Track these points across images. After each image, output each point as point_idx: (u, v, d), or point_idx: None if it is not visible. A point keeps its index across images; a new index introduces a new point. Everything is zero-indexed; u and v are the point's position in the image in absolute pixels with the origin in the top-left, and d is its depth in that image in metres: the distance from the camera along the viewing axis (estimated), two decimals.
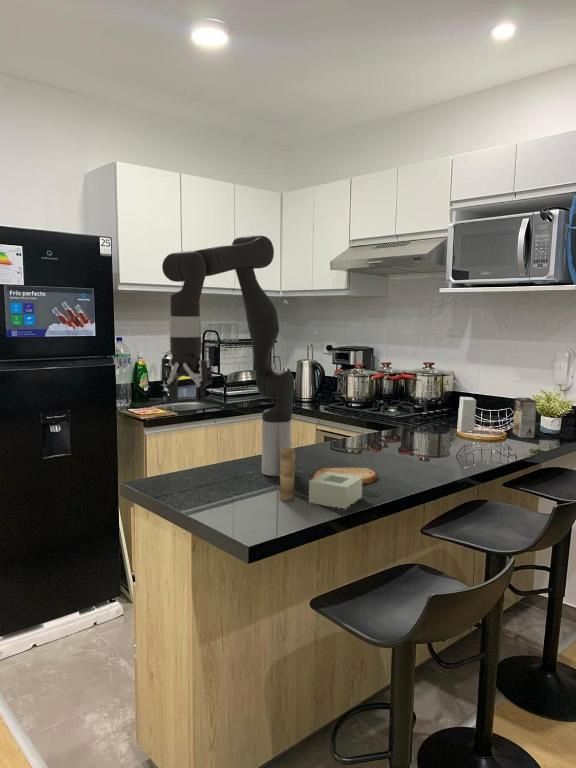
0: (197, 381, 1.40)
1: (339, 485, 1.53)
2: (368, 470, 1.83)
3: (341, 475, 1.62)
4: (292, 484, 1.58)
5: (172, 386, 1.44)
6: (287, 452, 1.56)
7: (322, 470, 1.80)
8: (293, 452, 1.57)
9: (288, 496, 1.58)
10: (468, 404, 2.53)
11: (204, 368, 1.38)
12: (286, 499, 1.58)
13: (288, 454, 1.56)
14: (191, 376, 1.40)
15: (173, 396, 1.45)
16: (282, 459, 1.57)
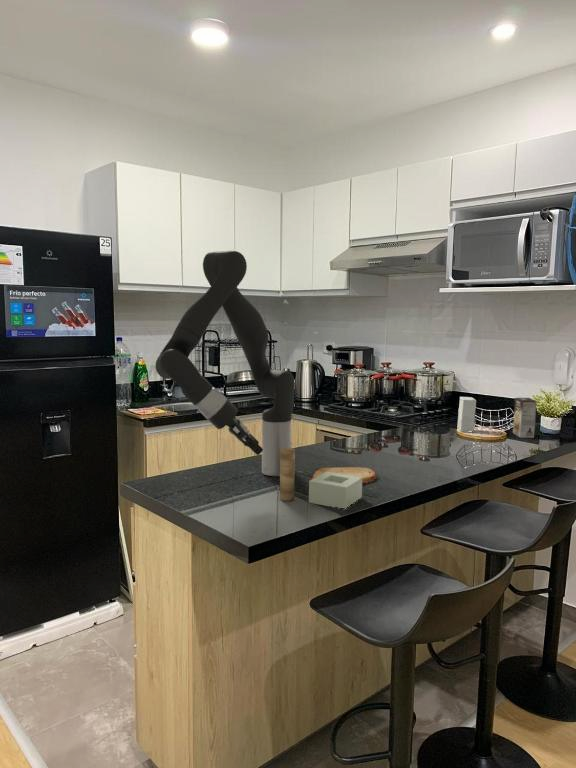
0: None
1: (339, 485, 1.53)
2: (368, 470, 1.84)
3: (341, 475, 1.62)
4: (292, 484, 1.58)
5: (246, 439, 1.60)
6: (287, 452, 1.56)
7: (322, 470, 1.80)
8: (293, 452, 1.57)
9: (288, 496, 1.58)
10: (468, 404, 2.53)
11: (235, 435, 1.48)
12: (286, 499, 1.58)
13: (288, 454, 1.56)
14: (238, 439, 1.52)
15: None
16: (282, 459, 1.57)
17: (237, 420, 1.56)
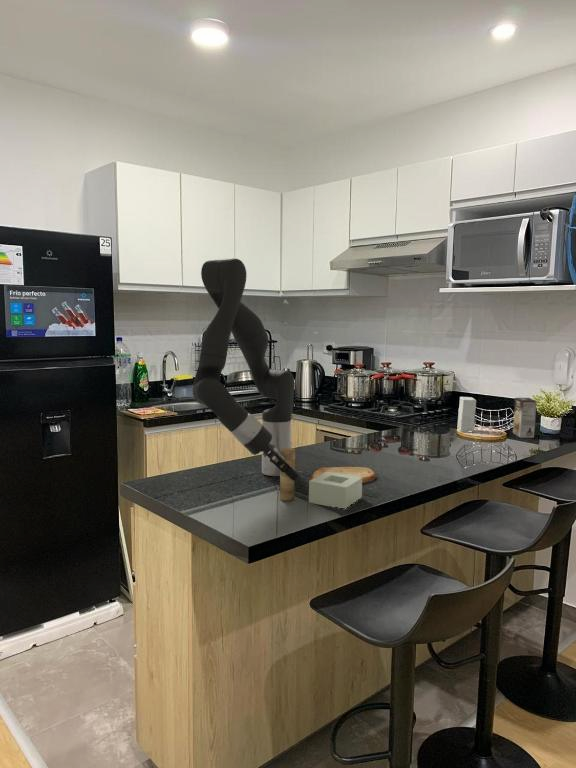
0: None
1: (339, 485, 1.53)
2: (367, 469, 1.84)
3: (341, 475, 1.62)
4: (292, 484, 1.58)
5: None
6: (287, 452, 1.56)
7: (321, 469, 1.81)
8: (293, 452, 1.57)
9: (288, 496, 1.58)
10: (468, 404, 2.53)
11: (274, 464, 1.52)
12: (286, 499, 1.58)
13: (288, 454, 1.56)
14: (274, 465, 1.56)
15: None
16: None
17: (271, 445, 1.58)
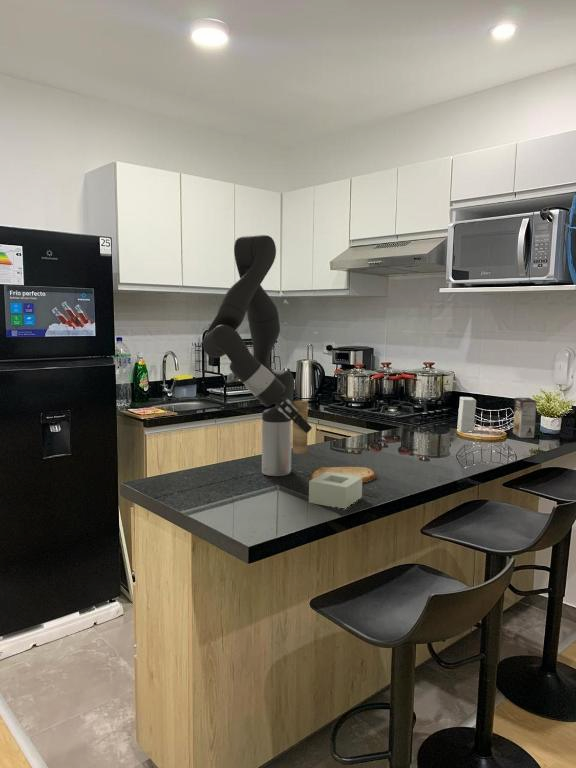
0: None
1: (339, 485, 1.53)
2: (367, 469, 1.84)
3: (341, 475, 1.62)
4: (305, 437, 1.56)
5: None
6: (300, 404, 1.54)
7: (321, 469, 1.81)
8: (306, 404, 1.55)
9: (301, 449, 1.56)
10: (468, 404, 2.53)
11: (287, 415, 1.50)
12: (299, 452, 1.56)
13: (301, 406, 1.54)
14: (287, 417, 1.54)
15: None
16: None
17: (284, 397, 1.57)
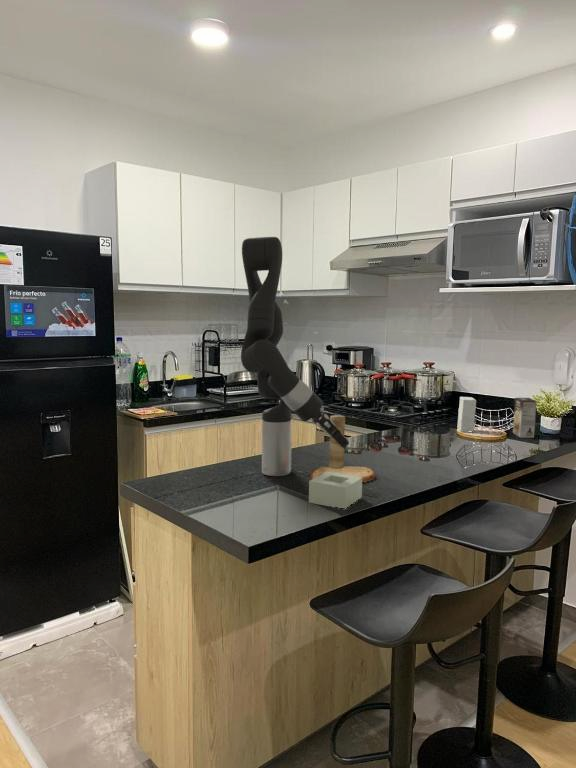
0: (330, 435, 1.54)
1: (339, 485, 1.53)
2: (366, 469, 1.84)
3: (341, 475, 1.62)
4: (342, 452, 1.56)
5: None
6: (337, 419, 1.54)
7: (320, 469, 1.81)
8: (343, 419, 1.55)
9: (338, 464, 1.56)
10: (468, 404, 2.53)
11: (326, 430, 1.50)
12: (336, 467, 1.56)
13: (338, 421, 1.54)
14: None
15: None
16: None
17: None
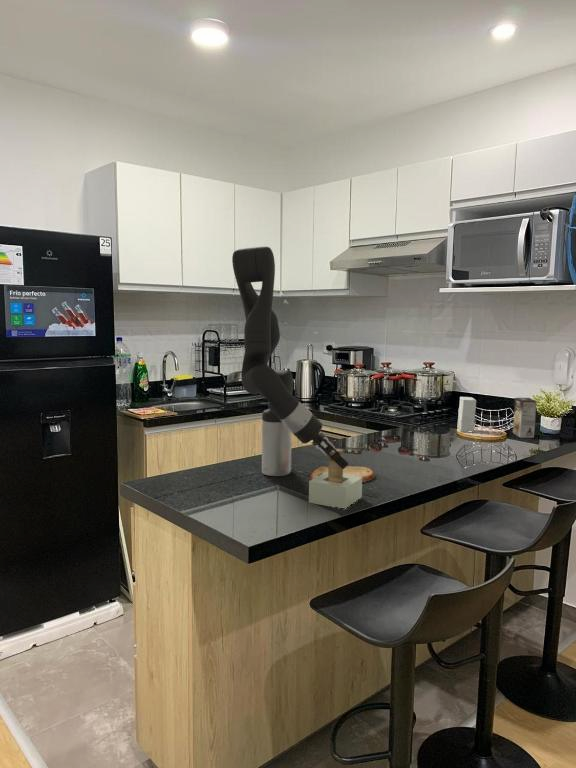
0: None
1: (339, 485, 1.53)
2: (366, 469, 1.85)
3: None
4: None
5: None
6: None
7: (320, 469, 1.81)
8: (342, 453, 1.56)
9: None
10: (468, 404, 2.53)
11: (323, 450, 1.50)
12: None
13: None
14: None
15: None
16: (331, 460, 1.56)
17: (320, 434, 1.57)
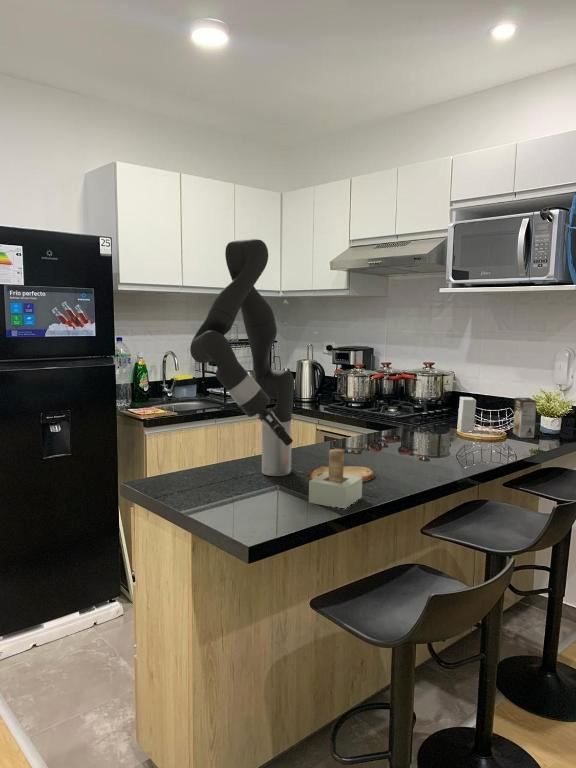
0: None
1: (339, 485, 1.53)
2: (365, 469, 1.85)
3: None
4: None
5: None
6: (336, 454, 1.55)
7: (320, 469, 1.82)
8: (342, 453, 1.56)
9: None
10: (468, 404, 2.53)
11: (268, 424, 1.47)
12: None
13: (337, 456, 1.56)
14: (269, 429, 1.51)
15: None
16: (331, 461, 1.56)
17: (267, 409, 1.54)
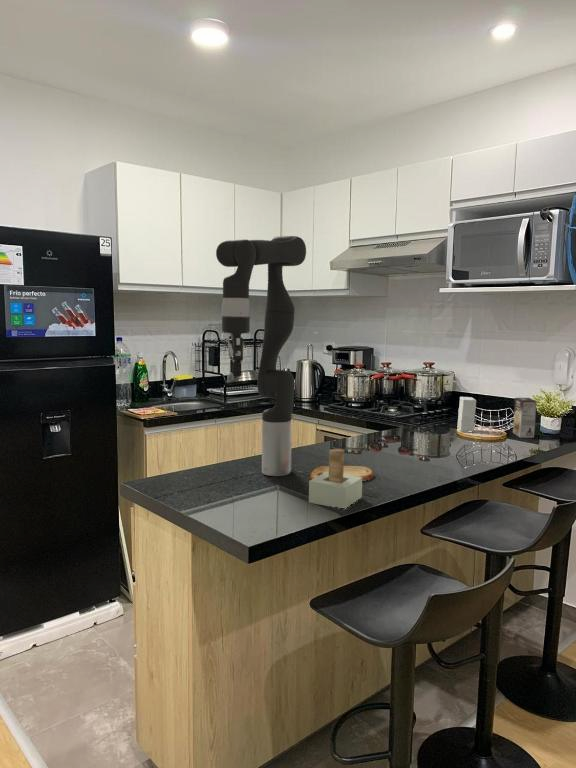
0: (232, 357, 1.53)
1: (339, 485, 1.53)
2: (365, 468, 1.85)
3: None
4: None
5: (231, 361, 1.62)
6: (336, 454, 1.56)
7: (319, 468, 1.82)
8: (342, 454, 1.56)
9: None
10: (468, 404, 2.53)
11: (233, 345, 1.51)
12: None
13: (337, 456, 1.56)
14: (230, 352, 1.54)
15: (232, 370, 1.62)
16: (331, 461, 1.56)
17: None
